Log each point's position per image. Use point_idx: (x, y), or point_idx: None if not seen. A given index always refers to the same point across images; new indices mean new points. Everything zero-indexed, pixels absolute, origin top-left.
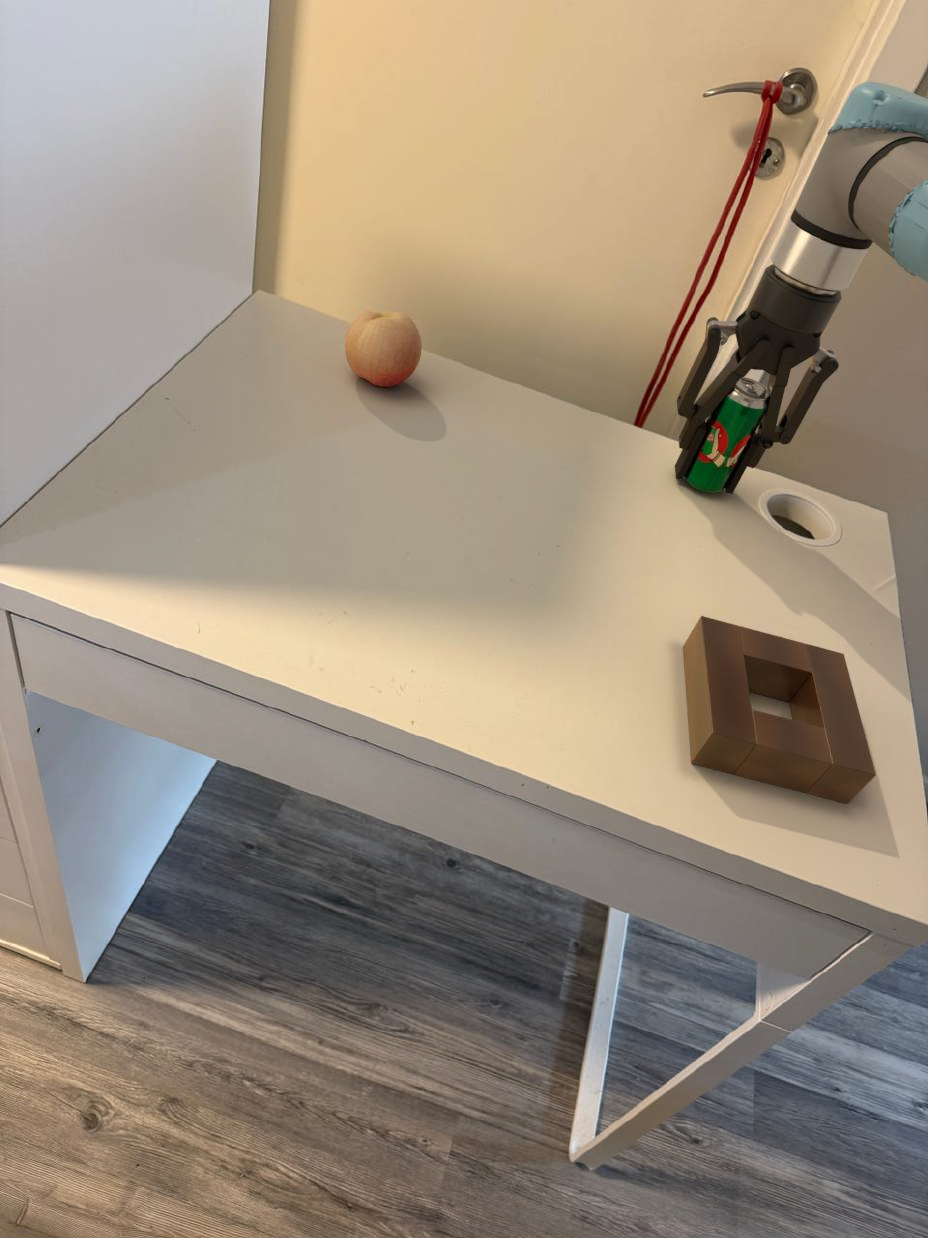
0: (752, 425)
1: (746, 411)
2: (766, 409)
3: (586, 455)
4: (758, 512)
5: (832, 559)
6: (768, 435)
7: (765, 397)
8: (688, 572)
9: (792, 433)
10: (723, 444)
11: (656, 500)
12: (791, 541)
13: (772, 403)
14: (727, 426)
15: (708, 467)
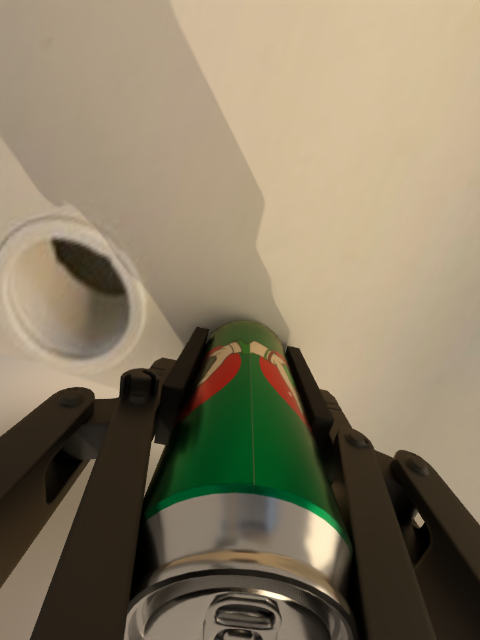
0: (208, 421)
1: (266, 470)
2: (150, 502)
3: (434, 386)
4: (150, 297)
5: (22, 180)
6: (133, 408)
7: (164, 586)
8: (366, 55)
9: (39, 414)
10: (271, 373)
11: (348, 290)
12: (101, 221)
13: (116, 546)
14: (291, 414)
15: (271, 343)
